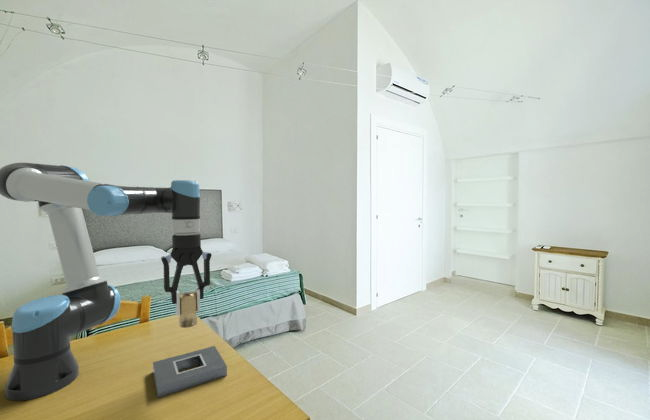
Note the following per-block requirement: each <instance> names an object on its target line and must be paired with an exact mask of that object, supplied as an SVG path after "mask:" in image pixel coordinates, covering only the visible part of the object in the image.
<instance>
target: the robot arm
mask: <svg viewBox="0 0 650 420" xmlns="http://www.w3.org/2000/svg"><path fill="white" fill-rule="evenodd" d="M0 195H1V196H2V197H4V198H6V199H9V200H11V201H16V202H17V201H18V202H25V203H27V202H29V203H31V202H37V203H38V207H39V210H40V211H43V212H44V213H46V214H47V216H48V220H49V223H50V227H51V230H52V231H51V232H52V234H53V238H54V241H55V247H56V249H57V253H58V257H59V261H60V265H61V270H62V273H63V276H64V280H65V285H66V286H65V288H63V290H62V292H61V294H55V295H53V294H52V295H49V296H46V297H41V298H40V297H39V298H37V299H34V300H31V301H29V302H27V303H24V304H23V305H21V306H20V307H18V308H17V309H16V310H15V311H14V312H13V315H12V320H11V321H12V322H11V325H10V326H11V332H12V348H13V351H12V352H13V366H12V367H11V371H10V374H9V376H8V379H7V382H6V384H5V397H6V399H7V400H11V401H27V400H28V401H29V400H33V399H37V398H42V397H44V396H47V395H51V394H53V393H55V392H58V391H59V390H62V389H63V388H65V387H67V386H68V385H70V384H72V383H73V382H74V381H75V380H76V379H77V378H78V376H79V375H80V368H79V367H80V365H79V363H78V362H77V360H76V358H75V356H74V353H73V352H72V350H71V337H73V336H75V335H78V334H80V333H83V332H85V331H88V330H89V329H92V328H95V327H97V326H100V325H103V324H104V323H106V322H109V321H110V320H112V319H113V318H114V317H115V316H117V313H118V311H119V310H120V307H121V301H122V300H121V295H120V292H119V291H118V289H117V288H116V287H115V286H114V285H111V284H108V281H107V279H106V278H103V277H101V276H100V273H99V269H98V265H97V261H96V258H95V254H94V250H93V247H92V242H91V239H90V235H89V232H88V228H87V224H86V219H85V215H84V212H83V210H87V211H91V212H92V213H93V214H94V215H96V216H99V217H117V216H127V215H140V214H141V215H143V214H144V215H145V214H171V232H172V233H173V235H172V236H171V240H172V249H171V252H170V254H167V255H165V256H164V255H163V256H161V257H160V260H161V262H162V265H163V289H164V292H166V293H171V294H170V295H171V296H170V297H171V303H172V305H175V315H176V316H177V317H179V315H180V294H181V293H180V291H179V290H178V287H179V283H180V280H181V275H182V271H183V269H184V267H186V266H191V267H192V270H193V271H192V272H193V273H194V278H195V280H196V284H197V286H196V287H195V289H194V290H195V291H194V292H196V293H197V313H198V312H201V300H202V299H204V298H205V297H204V294H205V293H204V290H205V288H206V287H209V286H210V285H211V269H210V267H211V263H210V261H211V258H212V253H211V252H209V251H203V249H202V247H201V246H202V244H201V240H202V239H201V234H200V232H201V215H200V214H201V192H200V183H199V182H198V181H197V180H185V179H184V180H182V179H181V180H178V179H176V180H172V181H171V184H170V187H152V186H150V187H149V186H123V185H115V184H109V183H104V182H103V183H102V182H96V181H90V179H89V178H88V176H87V174H86V173H85V172H84V171H82V170H81V169H79V168H77V167H72V166H68V165H55V164H44V163H32V162H13V163H9V164H7V165H5V166H1V167H0ZM201 257H202V259H203V279H202V276H201V272H200V269H199V265H198V261H199V259H200V258H201ZM172 259H173V260H174V261H175V262H176V266H175V272H174V276H173V281H172V283H170V281H171V280H170V264H171V262H172V261H171V260H172ZM170 284H171V286H170Z"/></svg>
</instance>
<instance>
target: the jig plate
mask: <svg viewBox="0 0 650 420" xmlns="http://www.w3.org/2000/svg"><path fill="white" fill-rule="evenodd" d="M196 366H198V367H196ZM193 367H194V368H193ZM227 367H228V365H227V363H226V362H225V360H224V358H223V357H222V356H221V354H220V352H219V350H218V349H217V348H216V346H215V345H214V346H209V347H205V348H202V349H198V350H193V351H190V352H187V353H183V354H179V355H176V356H171V357H168V358H164V359H159V360H156V361H153V362H152V372H153V373H152V374H153V379H154V385H155V390H156V394H157V399H159V398H162V397H165V396H168V395H171V394H173V393H176V392H180V391H183V390H186V389H189V388H193V387H196V386H198V385H202V384H205V383H207V382H211V381H215V380H217V379H221V378H224V377H226V376H227V375H228V368H227ZM190 368H191V369H190ZM186 369H187V370H186ZM182 370H183V371H182ZM179 371H181V372H179Z"/></svg>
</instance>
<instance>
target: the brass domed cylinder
mask: <svg viewBox="0 0 650 420" xmlns="http://www.w3.org/2000/svg"><path fill="white" fill-rule="evenodd" d="M178 318H179V322H178V323H179V327H180V328H183V329H184V328H185V329H186V328H191V327H195V326H196V325H198V312H197V293H196V292H195V291H184V292H181V293H180V315H178Z"/></svg>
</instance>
